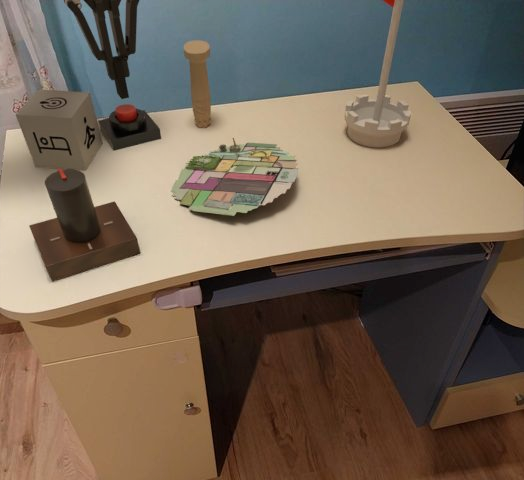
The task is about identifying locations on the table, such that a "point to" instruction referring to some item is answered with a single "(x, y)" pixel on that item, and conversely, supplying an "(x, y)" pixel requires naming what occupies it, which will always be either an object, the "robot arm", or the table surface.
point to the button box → (129, 130)
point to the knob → (73, 205)
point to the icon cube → (60, 129)
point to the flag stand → (379, 102)
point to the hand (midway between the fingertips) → (123, 95)
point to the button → (126, 112)
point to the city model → (235, 178)
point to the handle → (199, 80)
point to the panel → (85, 244)
